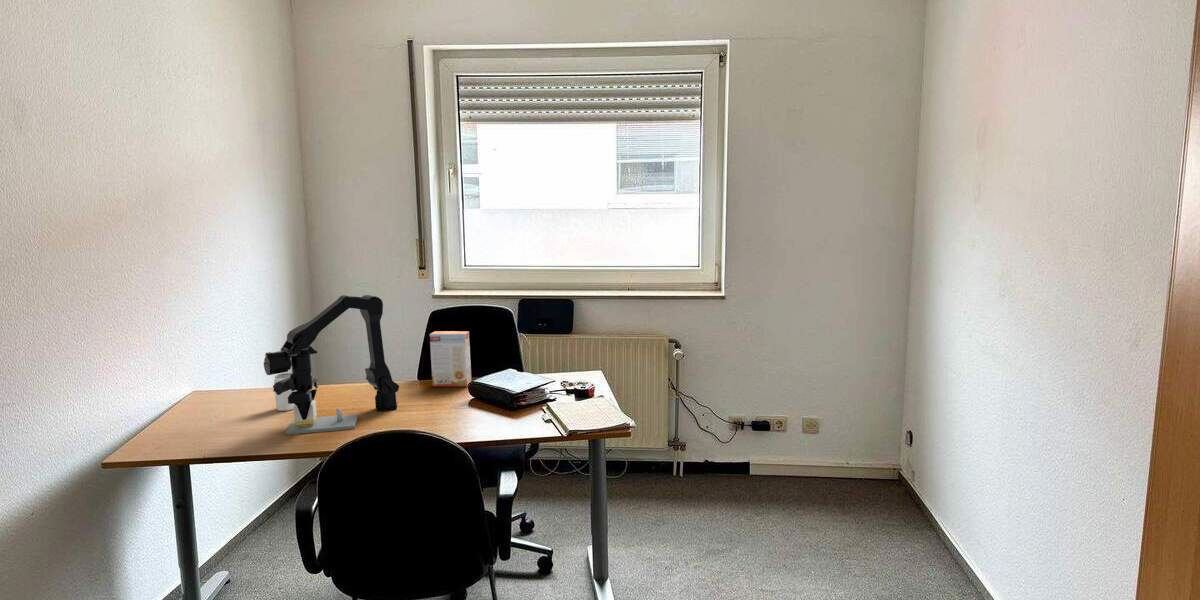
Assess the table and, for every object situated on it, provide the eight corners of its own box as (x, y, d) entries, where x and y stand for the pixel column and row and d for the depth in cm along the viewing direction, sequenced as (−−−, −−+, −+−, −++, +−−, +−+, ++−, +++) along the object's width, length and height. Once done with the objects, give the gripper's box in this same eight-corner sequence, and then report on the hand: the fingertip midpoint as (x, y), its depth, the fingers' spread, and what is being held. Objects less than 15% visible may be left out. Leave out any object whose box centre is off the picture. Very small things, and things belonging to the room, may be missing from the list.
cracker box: (472, 383, 262) (469, 330, 259) (467, 387, 256) (464, 333, 253) (437, 382, 264) (434, 330, 260) (432, 386, 258) (429, 333, 255)
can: (289, 412, 229) (286, 378, 228) (272, 411, 231) (269, 377, 229) (300, 406, 236) (298, 373, 234) (284, 405, 237) (281, 372, 235)
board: (358, 416, 223) (357, 402, 222) (354, 428, 212) (353, 413, 211) (293, 422, 218) (292, 407, 217) (286, 435, 207) (284, 419, 206)
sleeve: (316, 417, 217) (315, 399, 216) (314, 423, 211) (312, 404, 210) (298, 419, 215) (296, 401, 214) (295, 425, 210) (293, 406, 209)
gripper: (280, 364, 218) (284, 410, 220) (267, 378, 200) (272, 428, 202) (316, 361, 220) (320, 407, 223) (307, 375, 203) (311, 425, 205)
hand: (306, 416), depth 213 cm, fingers closed on sleeve, 6 cm apart
